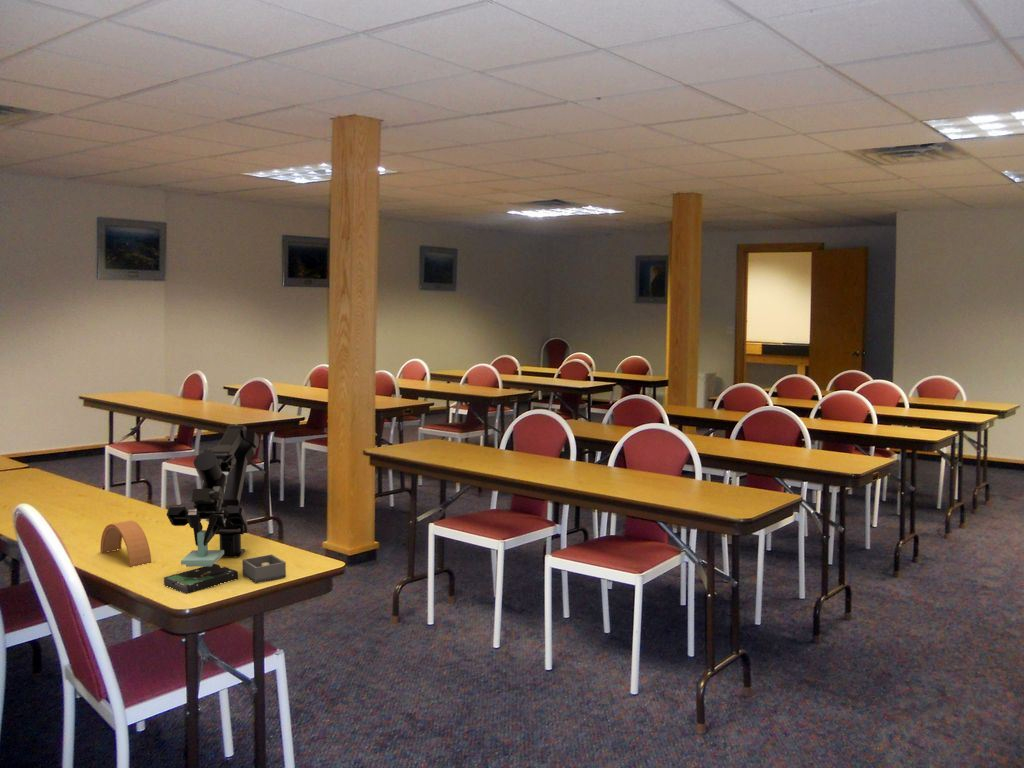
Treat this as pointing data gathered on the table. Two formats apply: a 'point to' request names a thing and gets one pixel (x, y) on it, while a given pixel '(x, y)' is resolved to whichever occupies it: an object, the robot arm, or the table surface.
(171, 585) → the disk drive
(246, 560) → the tub
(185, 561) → the lid
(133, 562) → the arch
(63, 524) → the table surface
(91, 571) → the table surface
